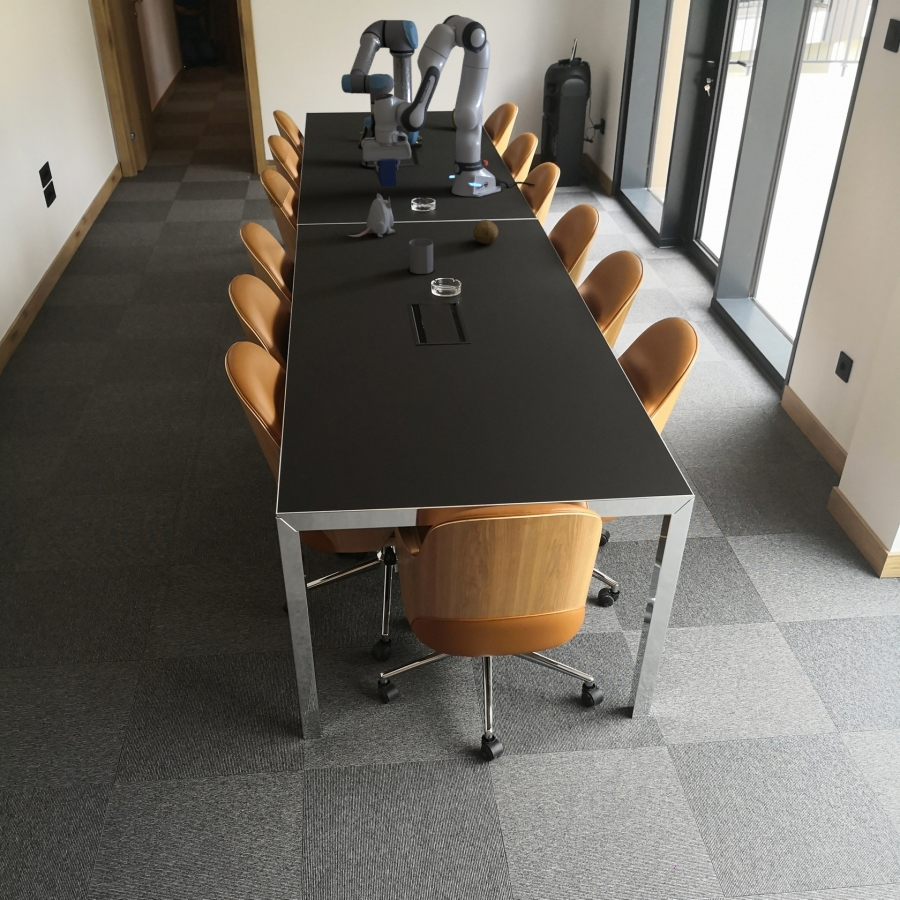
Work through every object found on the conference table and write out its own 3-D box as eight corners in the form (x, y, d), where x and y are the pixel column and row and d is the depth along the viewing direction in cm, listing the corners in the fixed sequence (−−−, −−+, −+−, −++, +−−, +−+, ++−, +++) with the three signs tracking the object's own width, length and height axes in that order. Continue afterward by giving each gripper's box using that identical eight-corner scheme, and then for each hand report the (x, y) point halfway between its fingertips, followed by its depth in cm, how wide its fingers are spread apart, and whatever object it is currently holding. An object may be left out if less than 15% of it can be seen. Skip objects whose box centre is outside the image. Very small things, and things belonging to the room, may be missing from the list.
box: (374, 169, 386) (373, 144, 380) (388, 168, 387) (387, 143, 381) (381, 187, 363) (380, 160, 357) (396, 186, 364) (395, 159, 358)
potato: (495, 236, 338) (496, 216, 334) (500, 248, 327) (500, 227, 322) (471, 236, 338) (471, 216, 334) (474, 249, 326) (474, 228, 322)
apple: (471, 132, 486) (471, 108, 479) (451, 132, 486) (451, 108, 479) (470, 128, 495) (471, 104, 488) (452, 128, 495) (452, 104, 488)
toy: (400, 232, 342) (399, 194, 334) (355, 247, 327) (353, 208, 319) (385, 227, 347) (383, 189, 339) (340, 242, 333) (337, 203, 324)
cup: (409, 265, 311) (408, 238, 306) (432, 265, 312) (431, 238, 307) (410, 274, 304) (409, 246, 299) (433, 273, 305) (433, 246, 299)
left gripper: (351, 116, 365) (354, 167, 377) (409, 114, 369) (410, 164, 381) (349, 112, 372) (352, 163, 383) (407, 110, 375) (408, 160, 387)
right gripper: (361, 139, 352) (363, 174, 360) (411, 137, 355) (412, 171, 363) (360, 136, 357) (362, 170, 365) (409, 133, 360) (410, 167, 368)
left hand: (381, 164), depth 382 cm, fingers open, 13 cm apart
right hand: (387, 170), depth 364 cm, fingers closed on box, 6 cm apart
